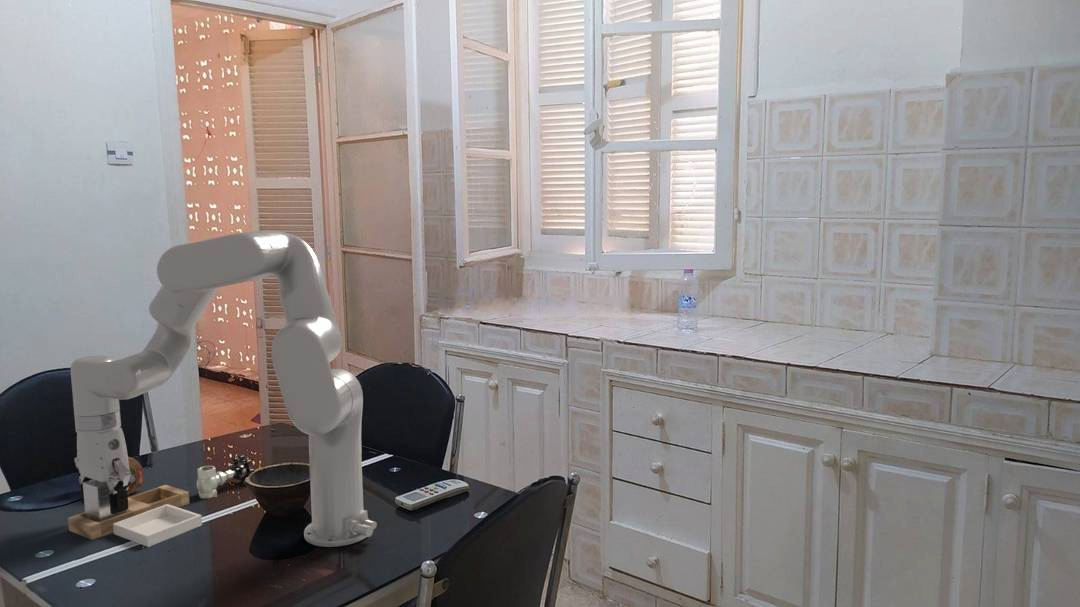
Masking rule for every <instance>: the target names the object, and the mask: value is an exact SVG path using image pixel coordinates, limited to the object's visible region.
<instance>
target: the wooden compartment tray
mask: <svg viewBox="0 0 1080 607" xmlns="http://www.w3.org/2000/svg"><path fill="white" fill-rule="evenodd" d="M189 494H190V492H189V491H187V490H184V489H182V488H177V487H175V486H171V485H168V484H163V485H160V486H158V487H155V488H152V489H149V490H146V491H143V492H139V493H137V494H134V495H131V496H128V509H127V510H126V513H124V514H121V515H118V516H115V517H112V518H110V519H107V520H104V521H101V522H95V521H93V520H90V519H87V518H86V515H85V511H84V512H81V513H78V514H75V515H73V516H70V517H67V525H68V526H67V527H68V531H69V532H70V533H71V532H72V533H74V534H76V535H78V536H81V537H84V538H87V539H89V540H95V539H98V538H100V537H104V536H106V535H109V534H111V533H114V530H113V523H116V522H119V521H122V520H124V519H127V518H130V517H133V516H135V515H138V514H141V513H144V512H146V511H149V510H152V509H155V508H157V507H160V506H163V505H166V504H169V505H172V506H175V507H178V508H181V507H183V506H186V505H189V504H190V495H189Z"/></svg>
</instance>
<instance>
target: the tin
mask: <svg viewBox="0 0 1080 607" xmlns="http://www.w3.org/2000/svg"><path fill="white" fill-rule="evenodd" d="M128 462H129V471H130V472H131V477H130V484H129V486H128V487H129V489H128V490H127V494H128V496H130V495H131V494H134V493H136V492H137V491H138V490H140V488H141V487H142V486H143V484H144V477H145V476H144V469H143V467H142V464H140V462H139V461H138V460H137V459H135V458H134V457H132V456H128ZM114 476H117V475H114ZM82 484H83V483H82Z"/></svg>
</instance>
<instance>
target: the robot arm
mask: <svg viewBox="0 0 1080 607" xmlns="http://www.w3.org/2000/svg"><path fill="white" fill-rule="evenodd" d="M322 270H323V269H322V268H321V264H320V261H319V258H318V256H317V254H316V252H315V251H314V249H313V248H312V247H311V246H310V245H309V243H307V242H306V241H305V240H303V239H302V238H300V237H298V236H297V235H294V234H291V233H288V232H285V231H280V230H267V229H266V230H257V231H256V230H255V231H246V232H238V233H232V234H227V235H222V236H218V237H214V238H209V239H203V240H200V241H195V242H189V243H185V244H178V245H174V246H172V247H169V248H168V249H166V251H164V252H163V254H162V255H161V256H160V258H159V260H158V262H157V265H156V274H157V278H158V281H159V282H160V284H161V287H160V288H159V290H158V291H157V293H156V294H155V296H154V298H153V299H152V300H151V302H149V303H150V304H149V307H148V310H149V315H151V317H152V318H153V319H154V320H155V321H156V322H157V326H156V329H155V332H154V334H153V335H152V336H151V338H150V340H149V341H148V343H147V345H146V346H145V347H144V348H143V350H142V351H141V352H138V353H135V354H132V355H128V356H127V357H124V358H120V359H116V360H115V359H114V357H112V356H110V355H91V356H83V357H80V358H77V359H74V360H73V361H72V363H71V364H70V380H71V381H70V382H71V390H72V391H71V392H72V402H73V404H72V406H73V415H74V425H75V432H76V457H74V463H75V464H74V465H75V467H76V473H77V475H78V482H79V484H80V494H81V496H80V497H81V503H82V504H84V492H83V484H82V483H83V482H86V481H89V480H93V479H94V480H97V481H100V482H104V483H107V485H108V487H109V489H110V491H111V494H109V501H110V513H111V514H116V513H119V512H122V511H125V510H127V509H128V497H129V495H128V494H127V490H128V489H129V487H128V486H129V484H130V477H131V472H130V471H129V462H128V457H129V456H128V449H127V444H126V439H125V434H124V431H123V427H121V426H122V421H121V419H122V418H121V406H120V400H130V399H133V398H136V397H138V396H141V395H144V394H145V393H147V392H149V391H152V390H155V389H157V388H159V387H161V386H163V385H164V384H166V383H167V382H168V380H170V379H171V377H173V375H174V373H175V372H176V370H177V369H178V368H179V366H180V365H181V363H182V362H183V360H184V359H185V357H186V356H187V354H188V352H189V349H190V348H191V344H192V340H193V335H194V327H195V326H196V324H197V323H198V321H199V320H200V318H201V317H202V314H203V313H204V312H205V310H206V309H207V307H208V305H209V304H210V302H211V301H212V300H213V299H214V297H215V295H216V293H218V290H219V289H220V288H222V287H226V286H233V285H236V284H242V283H247V282H248V283H249V282H252V281H257V280H260V279H264V278H268V277H275V278H276V279H277V281H278V292H279V302H280V305H281V307H282V310H283V314H284V317H285V322H286V324H285V325H284V326H282V327H281V328H280V329H279V330H278V331H277V332H276V334H275V336H274V338H273V340H272V343H271V359H272V360H271V362H272V364H273V369H274V372H275V375H276V378H277V382H278V386H279V389H280V393H281V394H282V395H281V396H282V398H283V402H284V405H285V408H286V412H287V413H288V414H287V415H288V417H289V419H290V420H291V422H292V423H293V425H294V426H295V427H296V429H298V431H300V432H301V433H304V434H306V435H308V456H309V457H308V460H309V481H310V484H309V485H310V499H311V500H310V502H311V503H310V504H311V507H310V508H311V523H309V524H307V526H306V527H305V528H304V530H303V538H304V540H305V541H306V542H307V543H309V544H311V545H314V546H316V547H324V548H326V547H327V548H333V547H335V548H336V547H337V548H338V547H345V546H349V545H352V544H356V543H359V542H360V541H363V540H365V539H366V538H370V537H371V536H372V535H373V533H374V530H375V529H376V528H377V525H378V523H377V522H376V521H374V520H371V519H370V518H369V517H368V510H366V509H364V492H363V490H364V489H363V469H362V468H363V464H362V462H363V461H362V453H363V452H362V421H363V420H362V418H363V408H364V407H363V406H364V405H363V404H364V397H363V396H364V395H363V394H364V393H363V389H362V388H363V387H362V385H361V382H360V381H359V380H358V378H357V377H356V376H355V375H354V374H353V373H352V372H350V371H348V370H346V369H342V368H331V365H330V363H331V362H332V361H334V359H335V358H337V356H338V355H339V354H340V352H341V350H342V347H343V340H342V338H343V337H342V334H341V331H340V327H339V325H338V322H337V318H336V315H335V310H334V307H333V303H332V300H331V298H330V297H331V296H330V295H329V291H328V288H327V285H326V282H325V278H324V273H323V271H322ZM114 475H117V476H114ZM110 476H114V477H111V478H110ZM117 480H119V481H118V483H117V484H116V486H115V485H114V483H113V482H114V481H117ZM84 505H85V504H84Z"/></svg>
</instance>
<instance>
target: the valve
mask: <svg viewBox="0 0 1080 607" xmlns="http://www.w3.org/2000/svg"><path fill="white" fill-rule="evenodd" d="M245 458H246V456H245V455H244V454H240V455H238V456H235V457H233V458H231V461H232V464H231V465H230V466H229V470H226V471H224V472H223V471H221V470H218V471H217V470H216V466H214V465H203V466H200V467H198V468H197V469H196V471H197V480H196V488H197V490H198V496H199V498H200V499H211V498H213V497H215V498H218V491H217V488H218V486H219V487H221V486H222V485H225V483H226V481H227V480H229V479H232V478H233V480H237V481H238V483H239V484H240V485H241V484H242V485H243V484H245V483H244V480H245V478H246V477H248V476H249V475H250V476H251V473H252V472H254V473H255V469H254V468H251V466H250V465H251V464H252V460H251V459H250V458H249V459H247V460H245ZM240 463H242V464H243V465H239V464H240ZM245 472H246V473H245ZM243 473H245V475H243ZM252 474H253V473H252Z"/></svg>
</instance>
